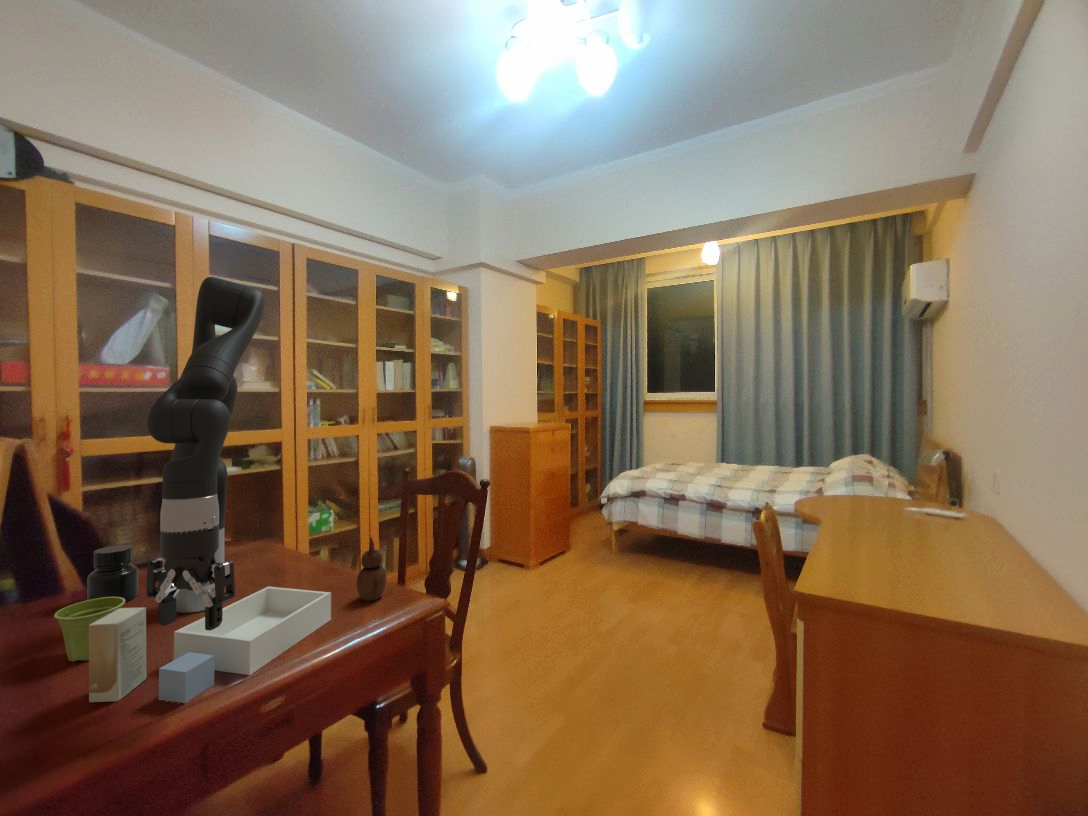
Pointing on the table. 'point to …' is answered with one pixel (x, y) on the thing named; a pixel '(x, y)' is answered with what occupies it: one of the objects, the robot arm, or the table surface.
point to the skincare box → (117, 654)
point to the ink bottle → (113, 574)
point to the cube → (186, 677)
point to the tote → (256, 628)
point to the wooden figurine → (371, 575)
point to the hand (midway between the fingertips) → (190, 625)
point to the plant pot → (83, 623)
